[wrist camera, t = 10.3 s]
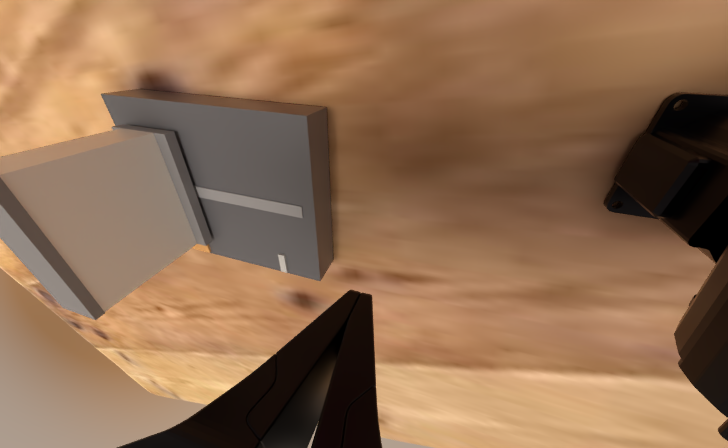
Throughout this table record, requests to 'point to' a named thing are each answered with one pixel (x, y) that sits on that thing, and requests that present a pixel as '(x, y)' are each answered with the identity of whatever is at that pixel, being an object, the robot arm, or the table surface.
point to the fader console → (249, 173)
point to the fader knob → (100, 214)
